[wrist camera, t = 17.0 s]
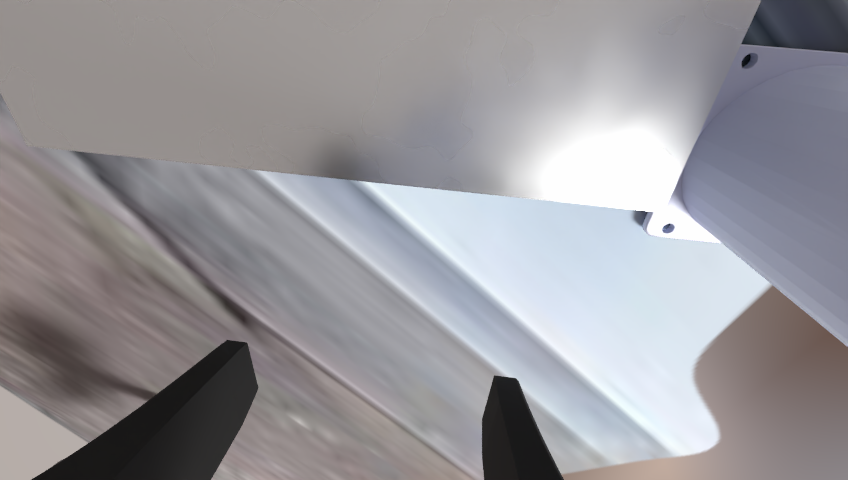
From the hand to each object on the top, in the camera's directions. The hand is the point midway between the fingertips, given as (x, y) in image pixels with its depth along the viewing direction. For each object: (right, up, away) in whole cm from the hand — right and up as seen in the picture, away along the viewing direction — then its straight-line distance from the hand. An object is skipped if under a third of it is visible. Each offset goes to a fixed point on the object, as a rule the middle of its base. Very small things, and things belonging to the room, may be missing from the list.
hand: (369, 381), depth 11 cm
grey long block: (0, +12, +4) cm, 12 cm away
